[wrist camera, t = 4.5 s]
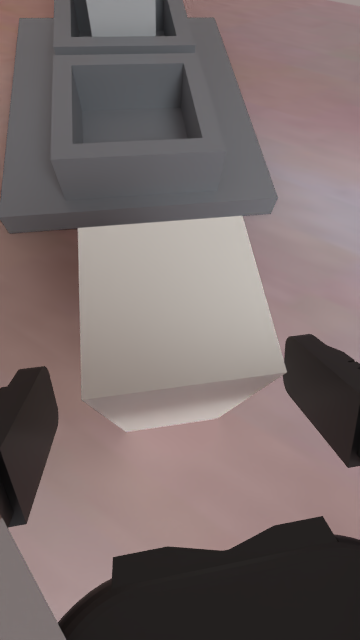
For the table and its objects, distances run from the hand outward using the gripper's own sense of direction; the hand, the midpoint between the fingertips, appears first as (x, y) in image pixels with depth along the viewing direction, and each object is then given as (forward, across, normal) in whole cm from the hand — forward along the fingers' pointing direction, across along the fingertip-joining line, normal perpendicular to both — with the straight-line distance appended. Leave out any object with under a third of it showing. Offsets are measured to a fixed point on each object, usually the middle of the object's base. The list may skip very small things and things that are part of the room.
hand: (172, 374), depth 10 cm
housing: (+21, 0, -12) cm, 24 cm away
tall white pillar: (+6, 0, +4) cm, 7 cm away
